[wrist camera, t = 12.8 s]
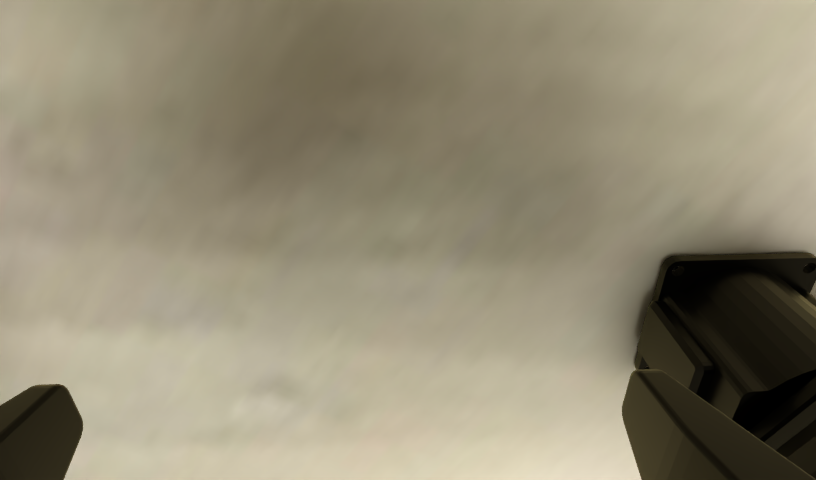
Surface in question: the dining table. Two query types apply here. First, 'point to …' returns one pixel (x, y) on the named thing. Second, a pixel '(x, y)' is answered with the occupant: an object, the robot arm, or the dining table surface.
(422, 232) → the dining table surface
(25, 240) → the dining table surface
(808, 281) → the robot arm
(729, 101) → the dining table surface
